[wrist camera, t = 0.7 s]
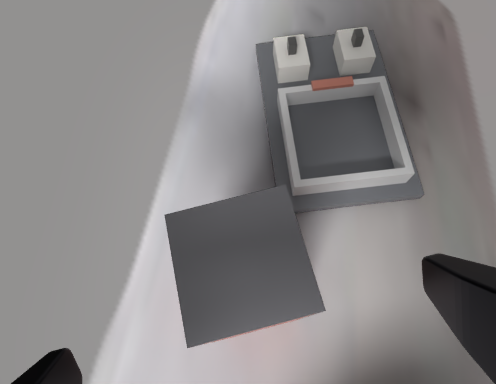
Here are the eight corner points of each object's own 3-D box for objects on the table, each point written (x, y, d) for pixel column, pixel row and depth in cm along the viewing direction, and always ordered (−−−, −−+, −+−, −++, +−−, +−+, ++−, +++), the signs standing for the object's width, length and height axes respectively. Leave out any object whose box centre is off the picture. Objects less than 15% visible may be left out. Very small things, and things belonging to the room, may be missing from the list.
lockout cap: (296, 319, 23) (325, 310, 11) (226, 338, 22) (187, 348, 11) (277, 250, 24) (285, 184, 13) (211, 267, 24) (164, 214, 13)
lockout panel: (419, 198, 25) (443, 178, 22) (280, 214, 25) (282, 197, 22) (370, 37, 31) (383, 1, 27) (256, 51, 31) (254, 17, 27)
